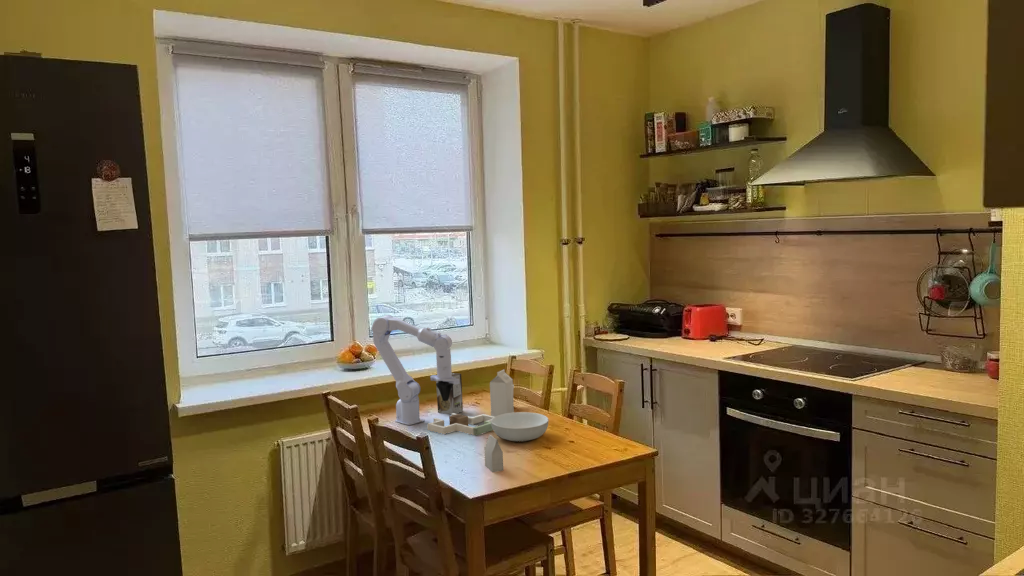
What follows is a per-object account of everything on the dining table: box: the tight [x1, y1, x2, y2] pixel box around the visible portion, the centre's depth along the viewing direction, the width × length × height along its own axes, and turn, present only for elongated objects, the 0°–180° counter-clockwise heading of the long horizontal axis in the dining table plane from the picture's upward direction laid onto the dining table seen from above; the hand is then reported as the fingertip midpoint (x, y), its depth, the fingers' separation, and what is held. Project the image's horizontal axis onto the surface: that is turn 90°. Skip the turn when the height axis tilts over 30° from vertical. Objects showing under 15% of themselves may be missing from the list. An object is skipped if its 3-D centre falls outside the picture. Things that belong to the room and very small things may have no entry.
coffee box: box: [435, 372, 464, 415], centre depth 296 cm, size 9×6×16 cm
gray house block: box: [483, 434, 504, 473], centre depth 224 cm, size 4×7×10 cm, turn 22°
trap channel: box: [426, 413, 494, 437], centre depth 273 cm, size 24×23×3 cm
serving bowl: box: [491, 411, 550, 443], centre depth 256 cm, size 21×21×7 cm
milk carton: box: [489, 369, 515, 417], centre depth 285 cm, size 7×7×19 cm
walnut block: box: [448, 413, 469, 426], centre depth 275 cm, size 6×4×4 cm
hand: (445, 400), depth 280 cm, fingers closed
